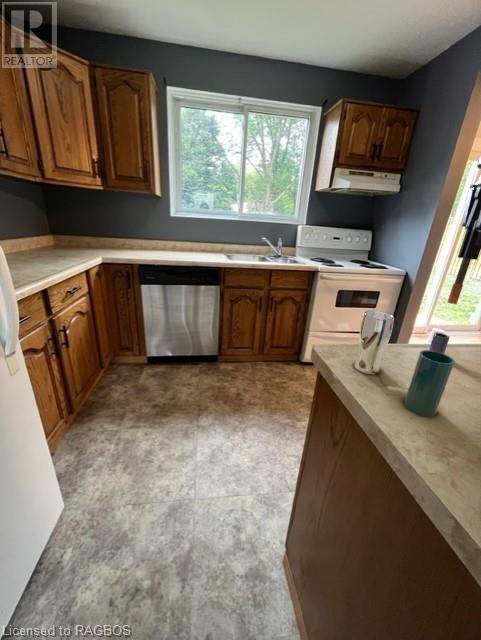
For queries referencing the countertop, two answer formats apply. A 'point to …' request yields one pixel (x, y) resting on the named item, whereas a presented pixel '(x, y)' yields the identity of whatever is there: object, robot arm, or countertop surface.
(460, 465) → the countertop surface
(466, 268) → the brown stick
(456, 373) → the countertop surface
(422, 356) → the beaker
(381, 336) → the beer glass
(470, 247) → the robot arm
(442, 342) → the grey cylinder
